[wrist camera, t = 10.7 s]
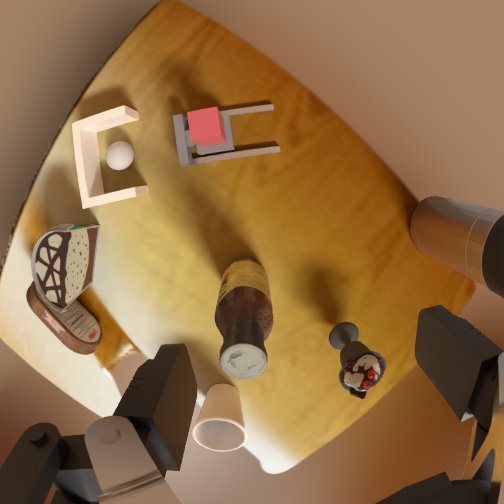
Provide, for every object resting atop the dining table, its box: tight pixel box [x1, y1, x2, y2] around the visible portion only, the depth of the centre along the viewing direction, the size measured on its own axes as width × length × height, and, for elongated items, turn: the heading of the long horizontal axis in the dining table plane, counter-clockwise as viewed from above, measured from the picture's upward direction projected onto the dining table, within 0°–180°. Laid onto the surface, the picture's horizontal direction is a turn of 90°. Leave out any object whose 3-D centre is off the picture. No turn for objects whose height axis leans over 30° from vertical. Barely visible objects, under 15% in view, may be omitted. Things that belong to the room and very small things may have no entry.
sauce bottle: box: [215, 258, 273, 380], centre depth 34 cm, size 6×6×20 cm
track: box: [182, 104, 280, 167], centre depth 38 cm, size 13×7×1 cm, turn 98°
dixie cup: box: [192, 383, 247, 451], centre depth 44 cm, size 8×8×10 cm
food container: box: [31, 223, 100, 313], centre depth 37 cm, size 12×6×10 cm, turn 164°
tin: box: [26, 281, 103, 355], centre depth 40 cm, size 15×3×8 cm, turn 45°
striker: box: [173, 107, 235, 166], centre depth 32 cm, size 7×6×10 cm
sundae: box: [329, 323, 386, 399], centre depth 38 cm, size 7×7×15 cm
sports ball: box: [106, 141, 134, 170], centre depth 37 cm, size 4×4×4 cm
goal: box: [72, 105, 149, 209], centre depth 36 cm, size 8×12×5 cm
